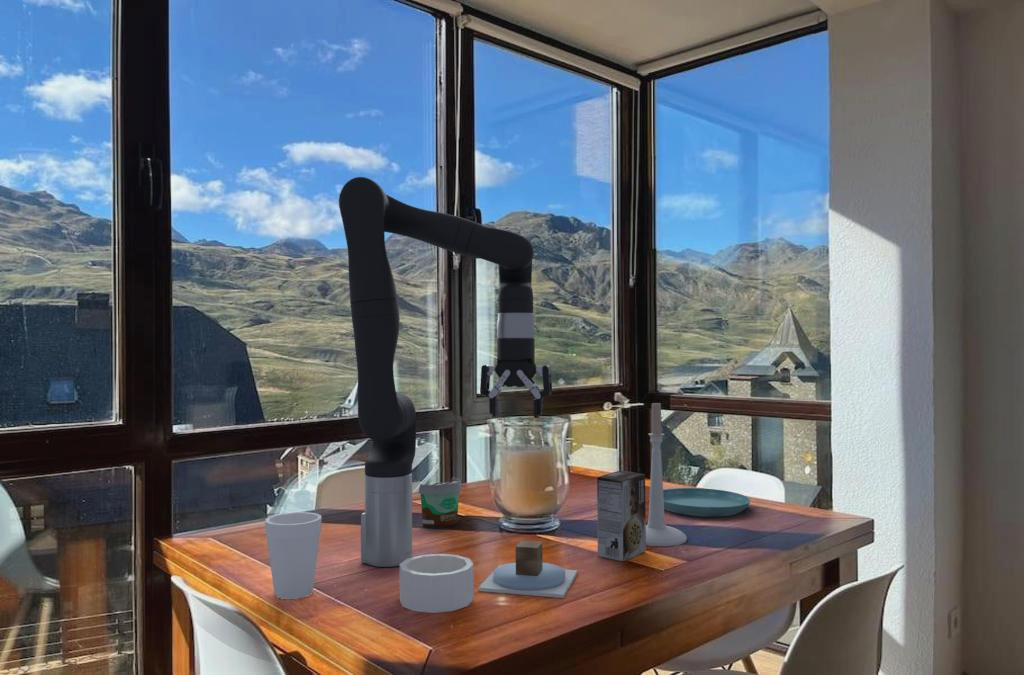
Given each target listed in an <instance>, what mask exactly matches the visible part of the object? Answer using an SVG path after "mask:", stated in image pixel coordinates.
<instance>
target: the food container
mask: <svg viewBox="0 0 1024 675" xmlns="http://www.w3.org/2000/svg"><path fill="white" fill-rule="evenodd" d="M462 490H463V485H462V482H461V479H459V478H457V477H453V476H452V477H451V480H449V481H446V482H435V483H433V484H421V483H420V484H419V487H418V494H420V503H421V504H420V505H421V517H422V518H421V519H422V527H423V528H447V527H452V526H455V525H457V523H458V512H459V511H458V510H459V500H460V492H461V491H462Z"/></svg>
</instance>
